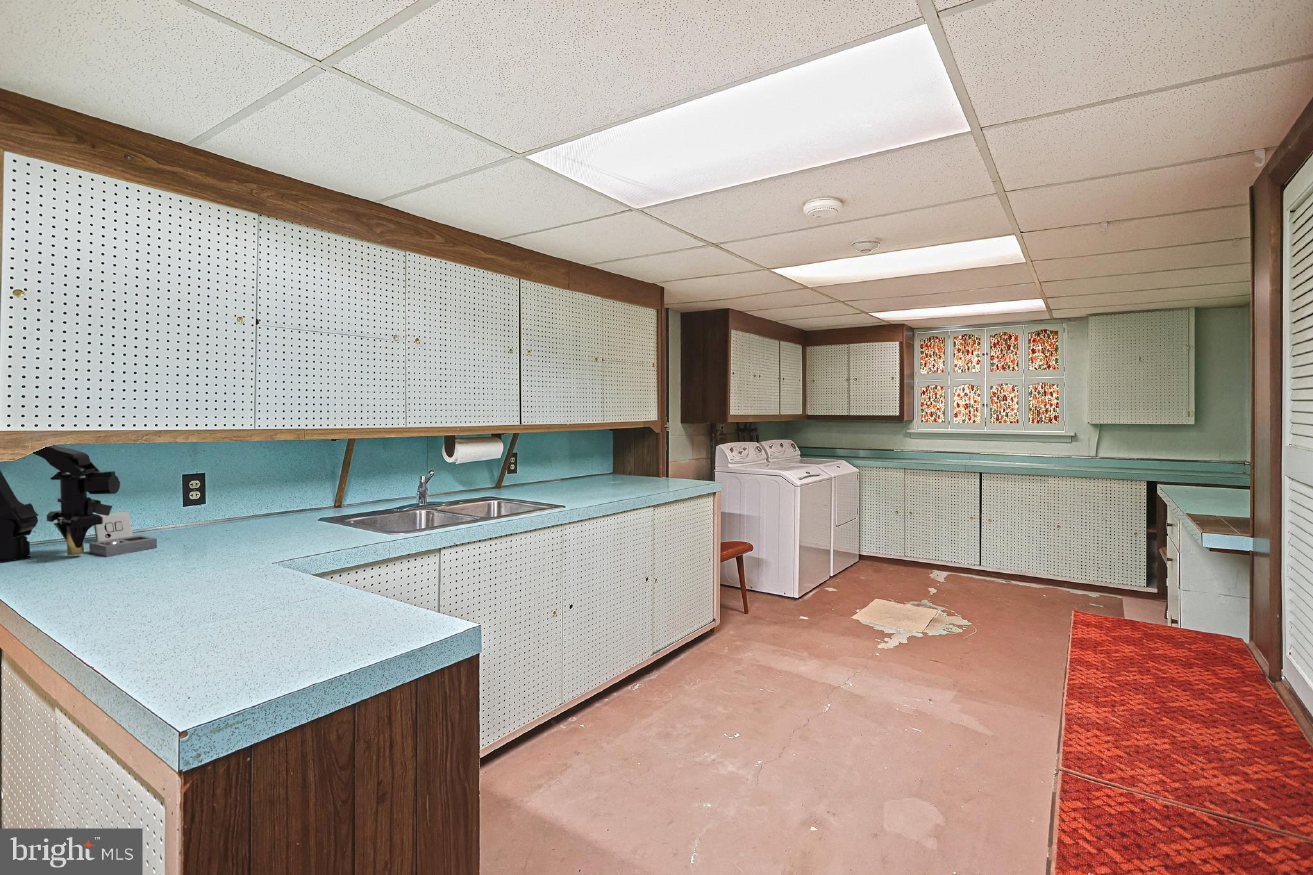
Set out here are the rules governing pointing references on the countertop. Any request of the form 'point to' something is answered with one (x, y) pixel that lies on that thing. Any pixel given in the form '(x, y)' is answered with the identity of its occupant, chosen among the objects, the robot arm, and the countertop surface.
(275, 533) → the countertop surface
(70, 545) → the gold domed cylinder
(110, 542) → the silver round knob
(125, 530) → the electrical switch
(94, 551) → the jig
